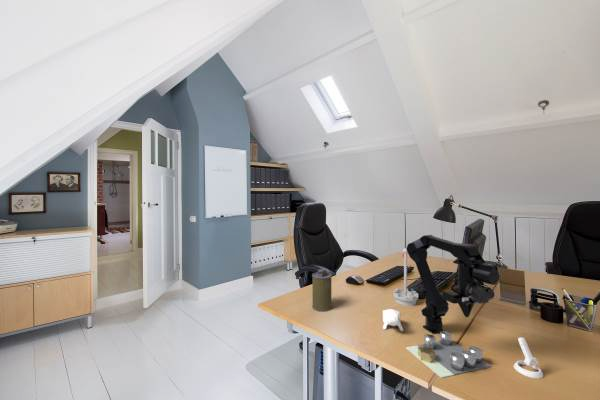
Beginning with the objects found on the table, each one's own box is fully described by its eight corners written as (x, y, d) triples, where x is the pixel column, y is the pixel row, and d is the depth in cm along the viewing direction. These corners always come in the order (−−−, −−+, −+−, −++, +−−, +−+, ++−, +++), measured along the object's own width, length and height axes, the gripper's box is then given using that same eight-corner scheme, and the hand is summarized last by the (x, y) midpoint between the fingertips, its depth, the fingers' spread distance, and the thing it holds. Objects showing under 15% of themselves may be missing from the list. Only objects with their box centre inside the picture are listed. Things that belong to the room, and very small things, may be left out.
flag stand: (422, 306, 145) (422, 250, 144) (397, 306, 145) (397, 250, 144) (412, 297, 158) (413, 245, 157) (390, 297, 158) (390, 245, 157)
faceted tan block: (415, 356, 100) (415, 348, 100) (425, 352, 103) (425, 344, 102) (427, 364, 95) (427, 355, 95) (437, 359, 98) (437, 351, 98)
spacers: (420, 344, 108) (421, 334, 108) (448, 339, 111) (448, 329, 111) (457, 372, 91) (457, 360, 91) (488, 365, 95) (488, 353, 94)
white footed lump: (381, 327, 128) (384, 330, 115) (381, 308, 131) (383, 309, 118) (400, 329, 127) (405, 332, 113) (399, 309, 129) (404, 310, 116)
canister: (325, 313, 137) (325, 273, 137) (308, 308, 143) (308, 270, 143) (335, 306, 146) (335, 269, 145) (319, 301, 152) (319, 266, 151)
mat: (405, 347, 106) (405, 347, 106) (449, 339, 112) (449, 339, 112) (441, 378, 89) (441, 377, 89) (491, 366, 94) (491, 365, 94)
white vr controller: (512, 340, 101) (531, 337, 96) (529, 379, 94) (550, 378, 89) (498, 340, 99) (517, 336, 94) (514, 379, 92) (536, 378, 87)
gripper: (465, 286, 95) (465, 330, 96) (505, 281, 100) (505, 323, 101) (440, 276, 106) (440, 316, 106) (478, 272, 111) (478, 310, 112)
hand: (466, 316), depth 106 cm, fingers closed
